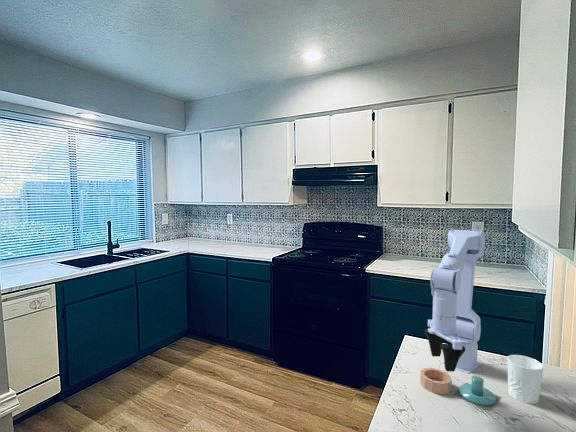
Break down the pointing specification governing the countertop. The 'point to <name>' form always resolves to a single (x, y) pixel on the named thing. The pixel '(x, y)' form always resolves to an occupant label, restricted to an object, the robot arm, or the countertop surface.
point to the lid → (477, 392)
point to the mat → (476, 404)
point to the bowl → (435, 380)
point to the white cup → (524, 378)
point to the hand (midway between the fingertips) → (442, 363)
